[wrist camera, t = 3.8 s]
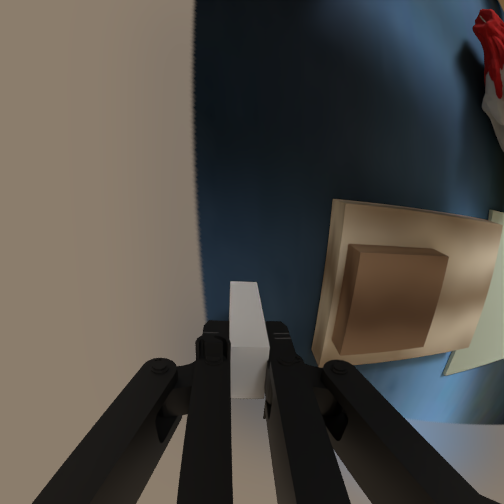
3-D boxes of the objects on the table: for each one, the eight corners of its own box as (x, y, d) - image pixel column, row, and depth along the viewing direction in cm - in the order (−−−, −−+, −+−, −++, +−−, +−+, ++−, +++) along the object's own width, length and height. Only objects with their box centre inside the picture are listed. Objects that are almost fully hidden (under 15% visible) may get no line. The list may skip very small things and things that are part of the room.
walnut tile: (348, 243, 18) (360, 252, 16) (432, 248, 19) (448, 256, 17) (331, 339, 20) (339, 355, 18) (411, 333, 20) (423, 347, 19)
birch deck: (332, 198, 20) (345, 203, 17) (485, 219, 21) (502, 225, 18) (311, 349, 23) (318, 367, 21) (455, 335, 24) (468, 347, 22)
